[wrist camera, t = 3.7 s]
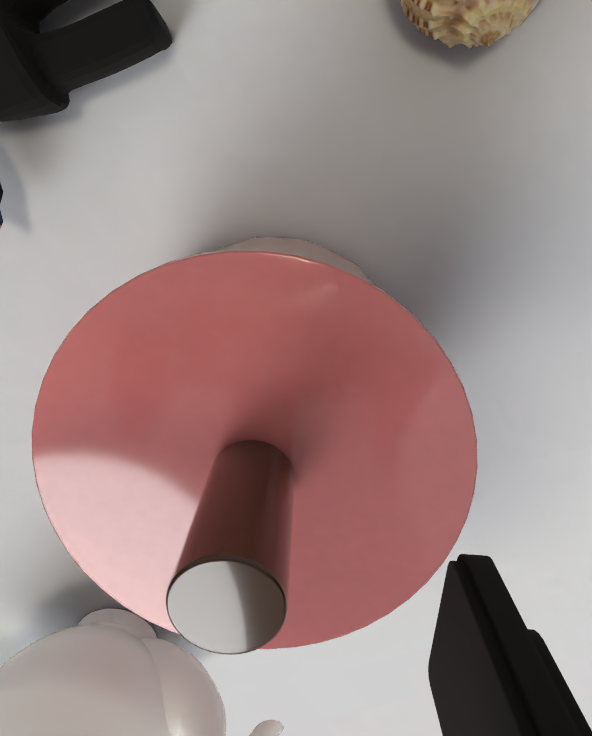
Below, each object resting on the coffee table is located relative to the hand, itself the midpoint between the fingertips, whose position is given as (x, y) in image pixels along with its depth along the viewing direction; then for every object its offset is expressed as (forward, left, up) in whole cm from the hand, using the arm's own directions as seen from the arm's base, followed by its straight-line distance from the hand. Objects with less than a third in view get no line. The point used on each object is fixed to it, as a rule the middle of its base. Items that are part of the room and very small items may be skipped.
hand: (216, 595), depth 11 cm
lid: (0, 0, -5) cm, 5 cm away
